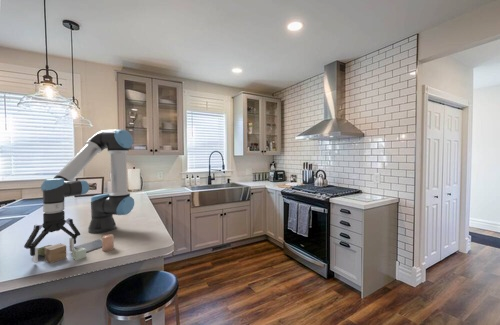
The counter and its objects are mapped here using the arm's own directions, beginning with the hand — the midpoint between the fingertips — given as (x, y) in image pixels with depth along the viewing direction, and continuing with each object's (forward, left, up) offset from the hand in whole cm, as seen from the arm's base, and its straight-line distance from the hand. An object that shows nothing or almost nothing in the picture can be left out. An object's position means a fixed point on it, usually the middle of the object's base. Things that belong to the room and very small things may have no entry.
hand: (54, 256), depth 105 cm
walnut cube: (+1, 0, -1) cm, 1 cm away
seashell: (-13, 0, -2) cm, 13 cm away
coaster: (0, +16, -1) cm, 16 cm away
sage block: (+9, +6, -1) cm, 11 cm away
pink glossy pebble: (+11, +18, -1) cm, 21 cm away
